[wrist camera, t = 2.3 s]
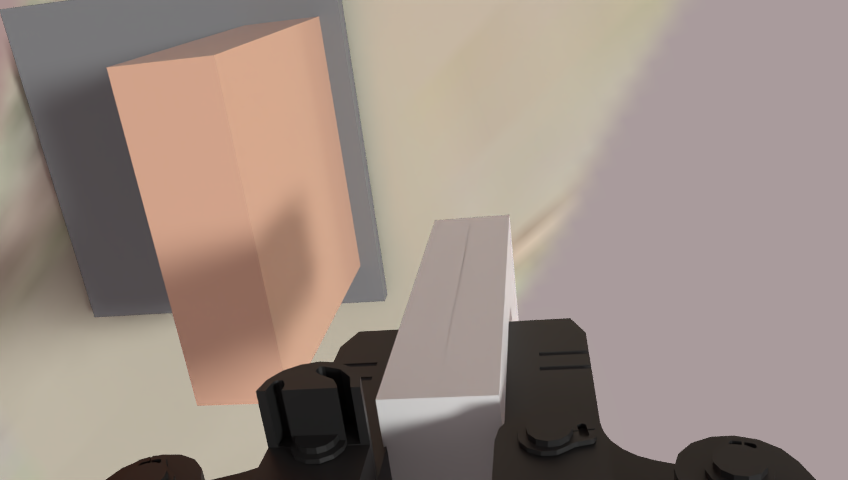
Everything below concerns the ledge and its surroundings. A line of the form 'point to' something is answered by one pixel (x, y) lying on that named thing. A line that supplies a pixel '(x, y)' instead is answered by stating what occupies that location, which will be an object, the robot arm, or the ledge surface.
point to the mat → (106, 144)
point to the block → (242, 198)
